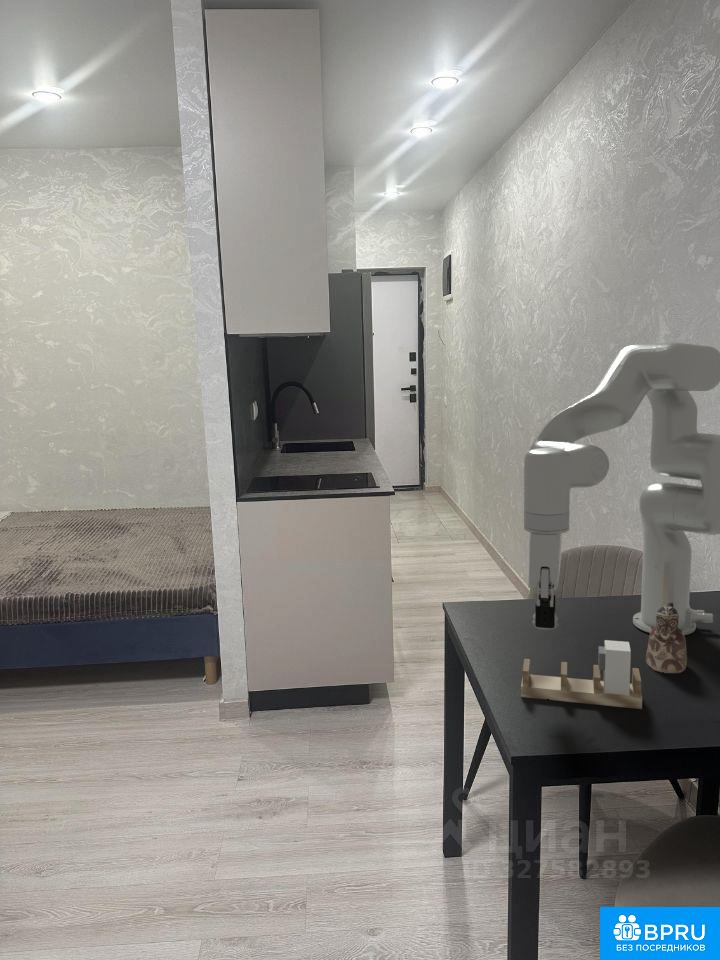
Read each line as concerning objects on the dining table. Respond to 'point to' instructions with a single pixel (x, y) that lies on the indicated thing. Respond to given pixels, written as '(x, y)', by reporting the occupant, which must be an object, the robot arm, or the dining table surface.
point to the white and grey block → (615, 666)
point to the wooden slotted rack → (578, 688)
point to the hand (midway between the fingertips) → (545, 620)
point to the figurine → (667, 643)
